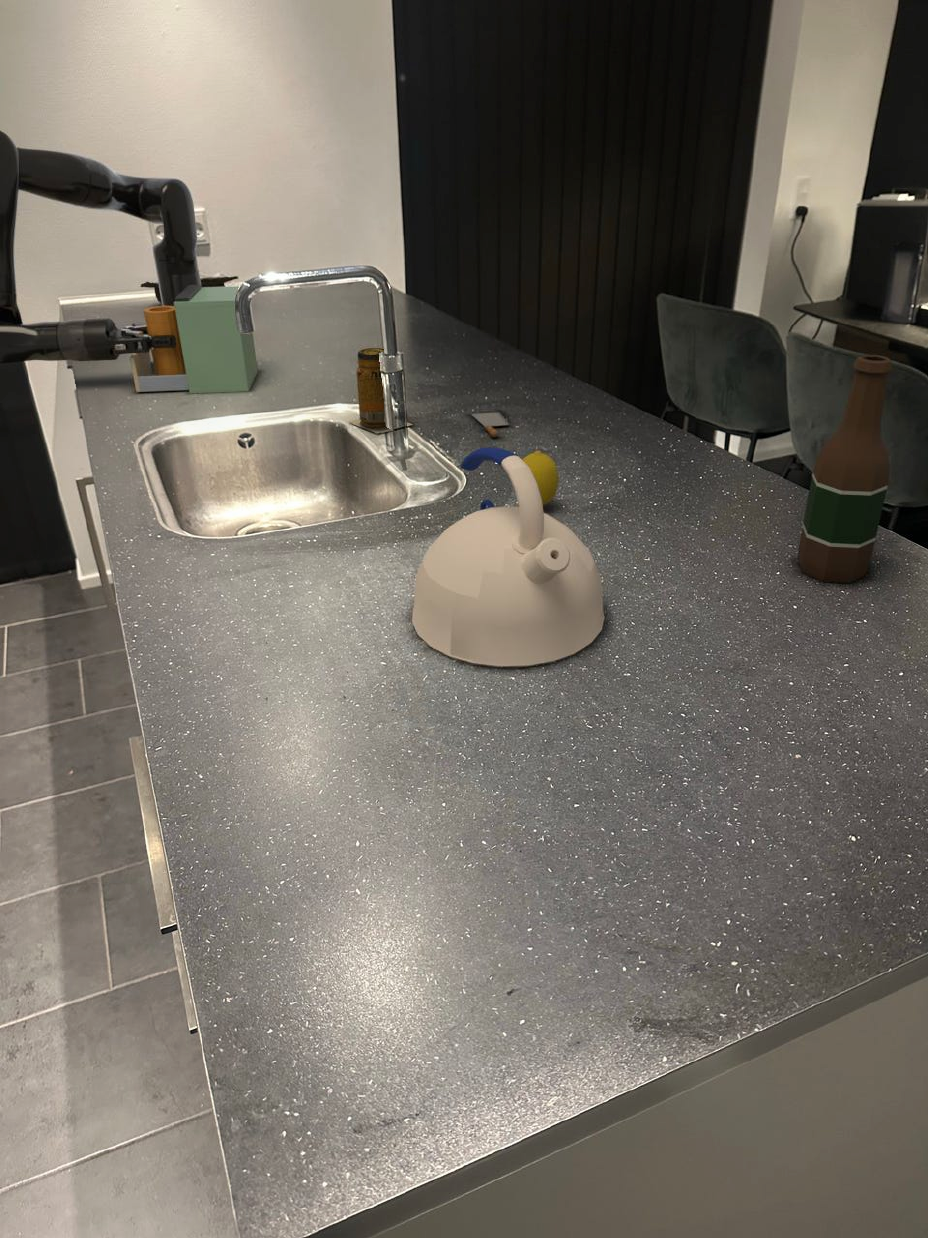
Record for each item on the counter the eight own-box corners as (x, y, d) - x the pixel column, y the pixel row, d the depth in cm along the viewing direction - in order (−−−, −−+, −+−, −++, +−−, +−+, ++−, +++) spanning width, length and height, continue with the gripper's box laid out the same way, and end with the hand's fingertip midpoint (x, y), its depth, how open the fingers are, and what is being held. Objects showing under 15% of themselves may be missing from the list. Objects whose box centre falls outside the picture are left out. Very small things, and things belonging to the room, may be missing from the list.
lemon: (529, 520, 117) (530, 461, 113) (508, 505, 121) (508, 448, 117) (565, 511, 119) (567, 453, 115) (543, 497, 123) (544, 441, 119)
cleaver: (498, 415, 156) (470, 417, 155) (498, 408, 156) (470, 410, 155) (520, 436, 145) (490, 439, 144) (520, 428, 144) (490, 431, 143)
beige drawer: (149, 375, 180) (143, 342, 176) (205, 373, 180) (199, 340, 177) (136, 391, 170) (129, 357, 167) (194, 389, 170) (188, 354, 167)
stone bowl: (192, 321, 222) (183, 281, 218) (127, 318, 235) (117, 281, 231) (262, 301, 240) (255, 264, 235) (198, 300, 253) (190, 265, 248)
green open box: (202, 373, 181) (188, 284, 173) (258, 371, 182) (246, 282, 173) (189, 393, 169) (173, 298, 161) (248, 391, 170) (235, 296, 161)
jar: (160, 374, 177) (148, 306, 170) (191, 373, 177) (180, 305, 171) (153, 383, 172) (140, 312, 165) (185, 382, 172) (173, 311, 166)
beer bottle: (859, 591, 99) (909, 371, 87) (787, 574, 102) (825, 361, 90) (873, 563, 104) (922, 353, 92) (804, 548, 108) (843, 344, 96)
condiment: (383, 414, 156) (379, 343, 150) (413, 425, 151) (409, 352, 144) (348, 423, 152) (342, 351, 146) (376, 435, 147) (371, 360, 141)
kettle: (458, 691, 84) (454, 512, 75) (385, 594, 100) (373, 437, 91) (644, 642, 90) (660, 472, 81) (546, 558, 107) (551, 409, 98)
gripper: (72, 328, 162) (167, 324, 163) (95, 311, 174) (183, 308, 175) (82, 370, 166) (174, 366, 166) (103, 350, 178) (189, 347, 179)
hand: (178, 336), depth 171 cm, fingers closed on jar, 6 cm apart
